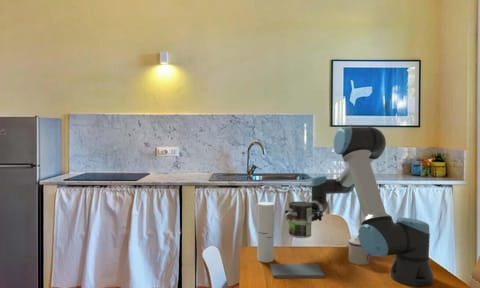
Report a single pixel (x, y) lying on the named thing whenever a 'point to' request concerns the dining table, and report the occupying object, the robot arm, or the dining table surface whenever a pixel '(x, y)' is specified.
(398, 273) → the robot arm
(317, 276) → the slate board
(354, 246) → the teacup with lid
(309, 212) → the coffee can
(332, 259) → the dining table surface
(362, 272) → the dining table surface
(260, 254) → the cylindrical container
